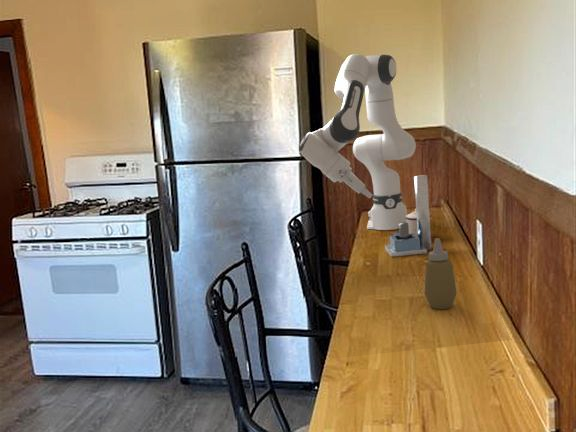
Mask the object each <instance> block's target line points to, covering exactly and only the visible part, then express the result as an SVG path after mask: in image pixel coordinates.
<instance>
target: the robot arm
mask: <svg viewBox="0 0 576 432" xmlns="http://www.w3.org/2000/svg"><path fill="white" fill-rule="evenodd" d="M396 75H397V63H396V60H395V59H394V58H393V56H391V55H389V54H381V55H379V54H378V55H377V54H375V55H366V56H364V55H363V54H360V53H353V54H351V55H349V56H348V57H347V58H346V59H345V61H344V62H343V63H342V64H341V66H340V70H339V72H338V75H337V77H336V81H335V84H334V93H335V95H336V97H337V98H338V99H340V100H341V101H342V105H341V109H340V110H339V111H338V112H337V113H336V114H335V115H334V116H333V117H332V119H330V120H329V122H328V123H327V124H326V125H324V126H323V127H322V128H319V129H317V130H315V131H312V132H311V131H309V132H307V133H306V134H305V135H304V136H303V137H302V140H301V141H300V143H299V144H298V145H299V146H298V151H299V154H301V156H302V157H303V158H304V159H305V160H306V161H307V162H309V163H310V164H311V165H312V166H313V167H315V168H317V169H319V170H320V171H321V173H322V174H323V175H324V176H325V177H326V178H328V179H329V180H331V182H333V183H337V182H339V183H342V182H344V184H346V185H347V186H348V187H350V188H351V189H352V190H353V191H354V192H356V193H357V194H362V195H364V196H365V197H367V198H368V199H371V198H372V203H373V205H372V207H371V209H370V210H369V211H368V212H367V214H368V217H369V219H368V222H367V225H366V228H367V230H378V231H391V230H393V231H394V230H399V223H401V222H407V219H406V216H407V215H408V211H407V205H405V204H404V203H403V193H402V191H401V180H400V175H399V173H398V172H397V171H396V170H394V169H392V168H389V167H388V166H387V165H386V164H385V161H400V160H405V159H407V158H411V157H412V156H413V155H414V153H415V151H416V148H417V146H416V145H417V144H416V140H415V137H413V136H412V134H410V133H409V132H408V131H406V130H405V129H404V128H403V126H401V125H400V123H399V121H398V119H397V116H396V115H397V114H396V111H395V102H394V93H393V92H394V91H393V86H392V82H393V80H394V79H395V77H396ZM364 93H365V105H366V116H367V120H368V122H369V123H370V124H371V125H372V126H373V125H374V126H375V127H378V128H379V129H381V131H382V133H379V134H378V133H377V134H368V135H363V136H360V137H358V135H359V133H360V128H361V127H360V111H361V107H362V103H363V99H364ZM355 138H356V139H355ZM354 139H355V140H354ZM353 140H354V142H353V144H352V153H353V156H354V157H355V159H356V160H357V161H359V162H360V163H362V164H363V165H364V166H365V167H366V169H367V170H368V172H369V174H370V177H371V182H372V188H373V190H372V191H373V193H371V191H369V189H367V188H366V184H365V183H363V181H362V180H360V179H359V178H358V177H357V176H356V175H355V174H354V173H353V171H352V169H353V168H352V167H351V166H350V165H351V162H350V161H349V160H348V159H347V158H345V156H343V155H342V154H341V153H339V151H340V150H341V149H342V148H343V147H345V146H346V145H347V144H348V143H350V142H351V141H353Z"/></svg>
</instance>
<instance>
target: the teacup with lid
mask: <svg viewBox="0 0 576 432" xmlns="http://www.w3.org/2000/svg"><path fill="white" fill-rule="evenodd" d="M429 217H430V218H431V215H430V213H429ZM406 219H407V222H408V224H409V234H410V233H414V234H415V235H417V236H418V231H417V215H416V208H415V209H414V210H413V211H411V212H410V213H407V216H406ZM431 233H432V230H431V228H430V234H431Z"/></svg>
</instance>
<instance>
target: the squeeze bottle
mask: <svg viewBox="0 0 576 432" xmlns="http://www.w3.org/2000/svg"><path fill="white" fill-rule="evenodd" d="M428 258H429V259H428V260H426V262H425V271H424V273H425V274H424V275H425V276H424V297H425V298H426V301H427V303H428V305H429V307H430V308H431V309H435V310H448V309H451V308H452V307H453V306H454V302H455V300H456V297H457V287H456V281H455V280H456V279H455V274H454V268H453V262H452V261H451V260H450V259H449V253H448V251H446V250H444V249H443V246H442V241H441V239H440V238H439V237H436V238H434V243H433V250H431V251H429V252H428Z"/></svg>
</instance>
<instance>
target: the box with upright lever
mask: <svg viewBox="0 0 576 432" xmlns="http://www.w3.org/2000/svg"><path fill="white" fill-rule="evenodd" d="M413 182H414V196H415V209H416V215H417V231H418V236H417V235H415V234H414V233H410V234H409V239H401V240H400V237H399V231H398V232H393V235H391V234H390V235H389V244H384V249H385V250H386V252H387V253H388V255H389V256H390V257H391V258H393V257H404V256H411V255H422V254H427V253H428V251H430V250H432V235H431V234H430V229H431V216H430V217H429V214H430V206H429V205H430V204H429V186H428V183H429V182H428V175H427V174H420V175H418V174H417V175H415V176H413Z"/></svg>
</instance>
